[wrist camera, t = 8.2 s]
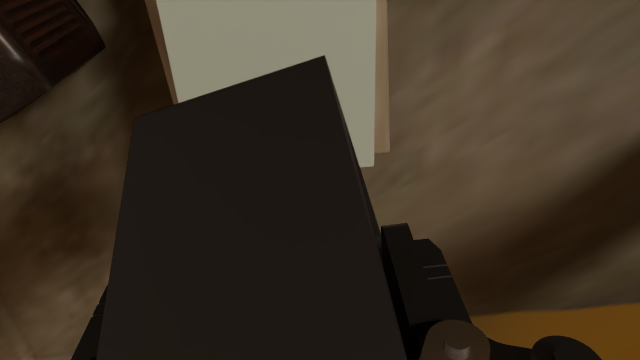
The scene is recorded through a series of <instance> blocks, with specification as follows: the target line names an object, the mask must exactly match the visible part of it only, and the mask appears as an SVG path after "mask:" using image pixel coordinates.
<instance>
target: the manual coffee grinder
mask: <svg viewBox="0 0 640 360" xmlns="http://www.w3.org/2000/svg"><path fill="white" fill-rule="evenodd" d="M104 48H105V44H104V42H103V40H102V38H101V36H100V34H99V33H98V31H97V29H96V27H95V25H94V24H93V22H92V21H91V19H90V18H89V17H88V15H87V14H86V13H85V11H84V10H83V8H82V7H81V6H80V4H79V3H78V2H77V0H0V123H1V122H3V121H5V120H7V119H8V118H10V117H12V116H14V115H16V114H17V113H18V112H20V111H21V110H22V109H24V108H25V107H26V106H28V105H29V104H30V103H32V102H33V101H34V100H36V99H37V98H38V97H40V96H41V95H42V94H44V93H45V92H46V91H48V90H49V89H50V88H52V87H53V86H54V85H56V84H57V83H58V82H59V81H61V80H62V79H63V78H65V77H66V76H68V75H70V74H71V73H73V72H75V71H76V70H78V69H79V68H80V67H81V66H83V65H84V64H85V63H86V62H88V61H89V60H90V59H92V58H93V57H94V56H95V55H97V54H98V53H99V52H100V51H102V50H103V49H104Z"/></svg>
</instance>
